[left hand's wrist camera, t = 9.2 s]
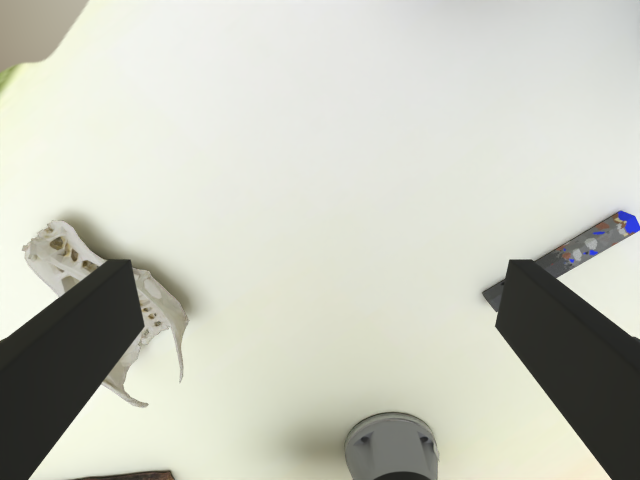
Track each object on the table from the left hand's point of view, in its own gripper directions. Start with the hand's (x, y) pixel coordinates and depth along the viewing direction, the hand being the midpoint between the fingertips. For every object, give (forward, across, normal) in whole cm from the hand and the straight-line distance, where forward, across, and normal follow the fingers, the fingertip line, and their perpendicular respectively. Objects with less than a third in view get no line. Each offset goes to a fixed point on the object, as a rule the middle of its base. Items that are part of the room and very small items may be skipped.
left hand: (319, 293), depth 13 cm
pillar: (+33, -31, +14) cm, 47 cm away
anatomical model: (+33, +27, +19) cm, 47 cm away
